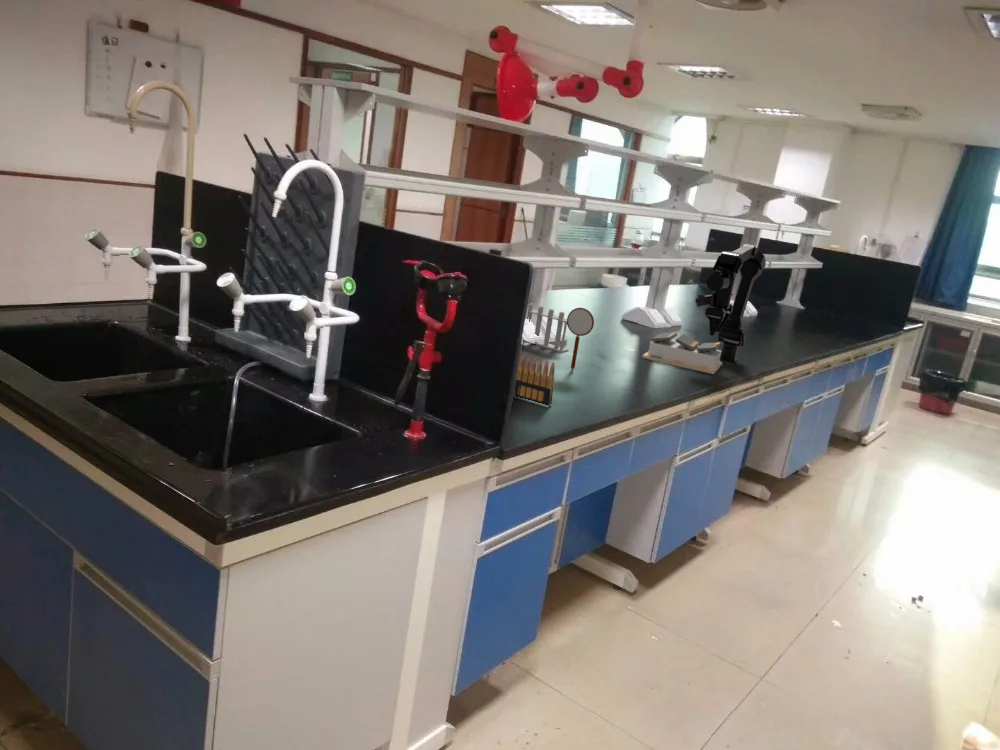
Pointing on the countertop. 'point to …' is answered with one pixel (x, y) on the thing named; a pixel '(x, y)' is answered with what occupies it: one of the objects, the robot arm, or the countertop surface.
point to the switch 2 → (709, 346)
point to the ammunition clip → (535, 381)
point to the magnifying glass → (579, 327)
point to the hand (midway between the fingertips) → (714, 333)
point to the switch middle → (687, 342)
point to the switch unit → (684, 356)
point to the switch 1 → (664, 337)
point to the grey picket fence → (549, 328)
